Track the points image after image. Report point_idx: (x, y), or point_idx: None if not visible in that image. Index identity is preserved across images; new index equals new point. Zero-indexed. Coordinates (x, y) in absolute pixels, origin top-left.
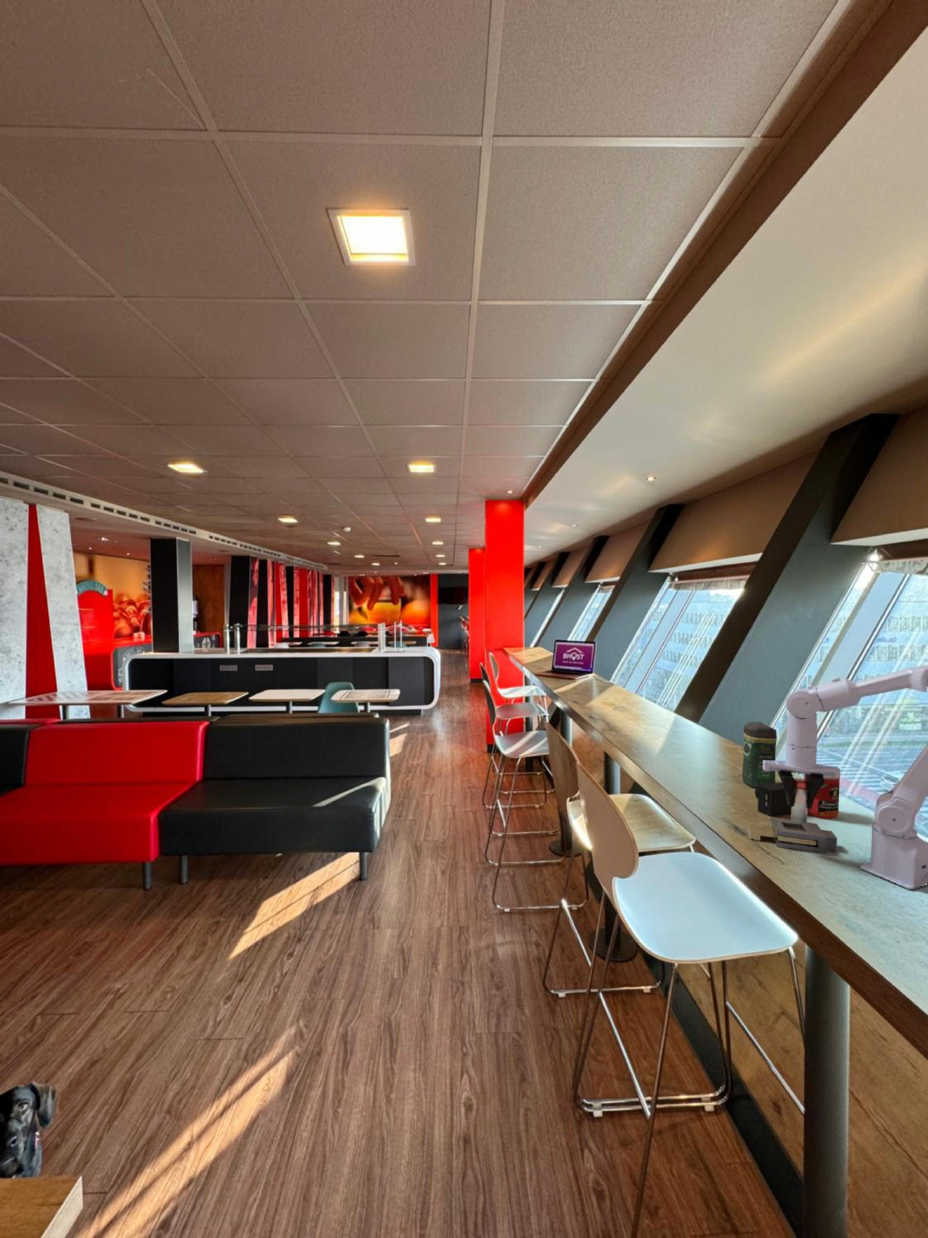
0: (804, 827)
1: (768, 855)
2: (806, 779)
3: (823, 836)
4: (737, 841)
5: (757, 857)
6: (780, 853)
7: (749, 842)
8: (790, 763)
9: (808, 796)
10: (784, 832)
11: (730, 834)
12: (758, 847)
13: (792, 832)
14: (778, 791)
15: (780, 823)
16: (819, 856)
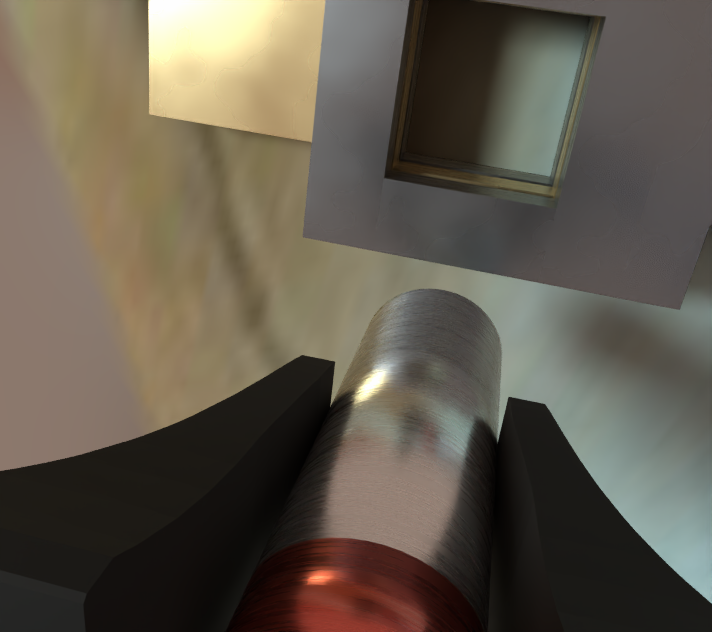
0: (590, 104)
1: (247, 340)
2: (549, 623)
3: (659, 299)
4: (100, 156)
5: (182, 373)
6: (327, 302)
7: (172, 157)
8: None
9: (497, 567)
10: (356, 245)
11: (65, 27)
12: (214, 232)
13: (416, 254)
14: None
15: (387, 39)
16: (575, 312)
